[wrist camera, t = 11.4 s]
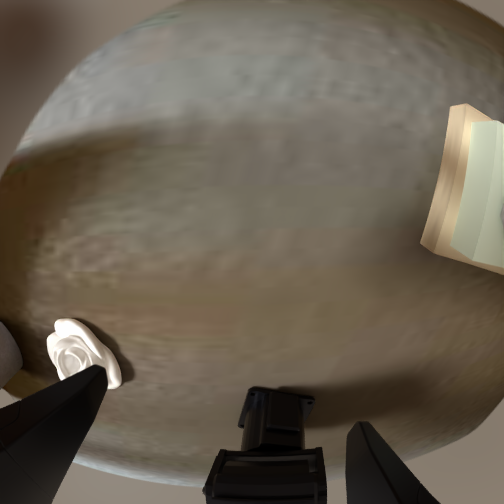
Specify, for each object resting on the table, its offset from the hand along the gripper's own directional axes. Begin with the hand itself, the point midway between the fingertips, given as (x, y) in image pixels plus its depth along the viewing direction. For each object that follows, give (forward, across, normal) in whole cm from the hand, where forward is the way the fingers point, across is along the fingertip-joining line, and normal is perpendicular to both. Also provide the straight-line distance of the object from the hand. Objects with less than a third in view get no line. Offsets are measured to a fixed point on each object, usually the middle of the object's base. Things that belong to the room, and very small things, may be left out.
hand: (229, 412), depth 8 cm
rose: (+14, +16, +15) cm, 25 cm away
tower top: (+11, -17, -10) cm, 23 cm away
